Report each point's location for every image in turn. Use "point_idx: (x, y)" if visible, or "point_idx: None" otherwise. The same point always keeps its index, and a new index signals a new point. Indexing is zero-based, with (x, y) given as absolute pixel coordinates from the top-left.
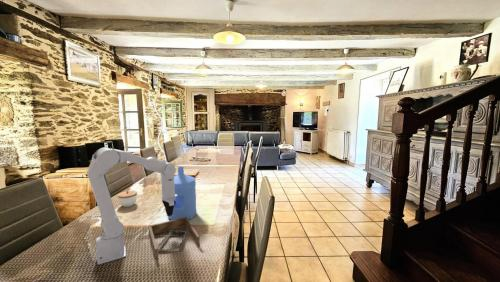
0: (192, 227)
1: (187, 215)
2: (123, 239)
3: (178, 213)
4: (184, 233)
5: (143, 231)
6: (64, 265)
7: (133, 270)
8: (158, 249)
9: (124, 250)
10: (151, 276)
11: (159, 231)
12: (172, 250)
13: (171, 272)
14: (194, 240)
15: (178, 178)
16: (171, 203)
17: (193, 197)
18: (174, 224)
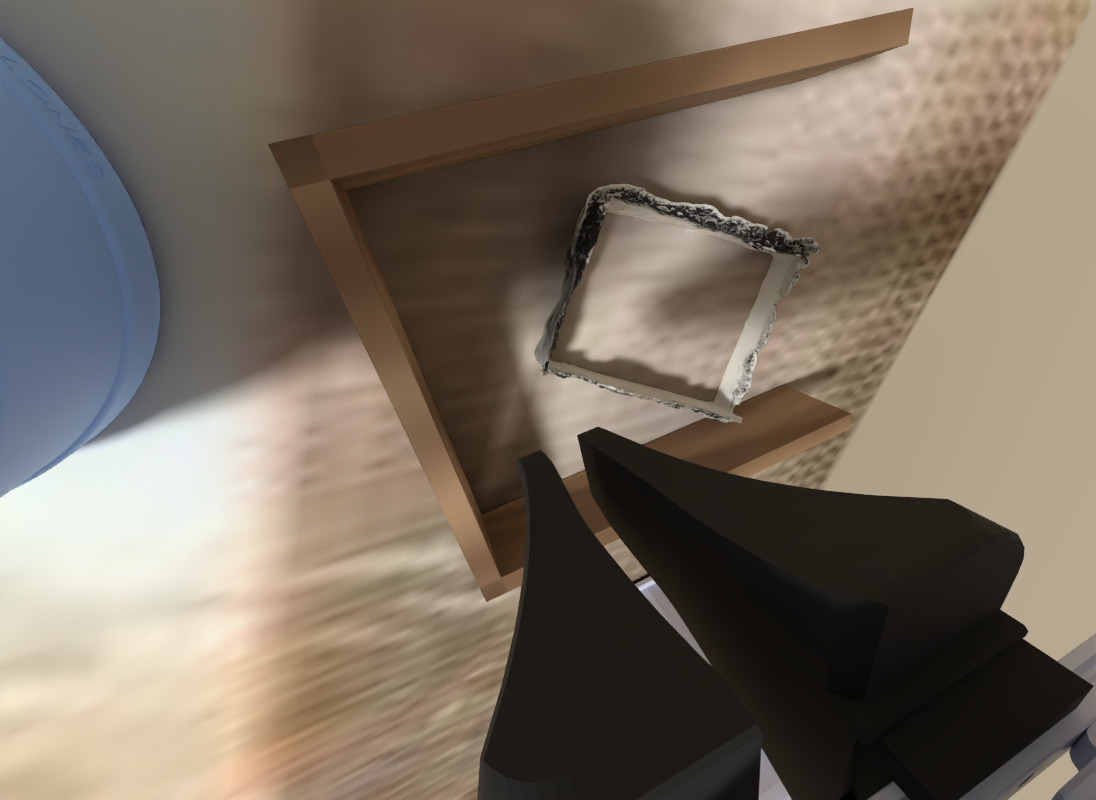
0: (696, 71)
1: (25, 111)
2: (703, 654)
3: (77, 321)
4: (603, 205)
5: (400, 594)
6: None
7: (798, 477)
8: (716, 407)
9: (643, 589)
10: (875, 386)
11: (462, 470)
12: (764, 308)
13: (909, 292)
14: (729, 97)
15: None
16: None
17: None
18: (404, 344)
